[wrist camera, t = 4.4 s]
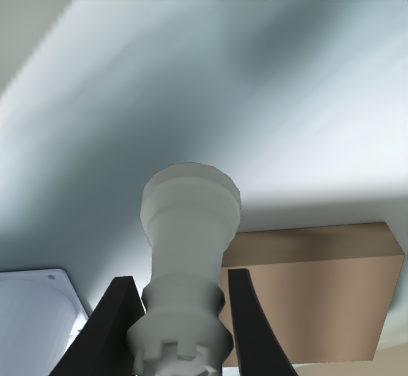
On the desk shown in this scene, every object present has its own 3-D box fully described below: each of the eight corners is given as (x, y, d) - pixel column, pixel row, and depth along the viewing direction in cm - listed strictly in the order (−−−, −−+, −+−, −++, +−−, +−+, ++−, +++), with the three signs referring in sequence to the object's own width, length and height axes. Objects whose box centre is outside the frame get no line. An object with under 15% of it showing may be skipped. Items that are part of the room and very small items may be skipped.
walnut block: (221, 333, 31) (222, 367, 29) (207, 235, 25) (207, 268, 22) (359, 326, 31) (372, 360, 28) (384, 222, 24) (405, 254, 21)
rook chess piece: (164, 140, 14) (124, 314, 8) (259, 179, 15) (289, 360, 9) (130, 213, 17) (79, 391, 10) (214, 243, 18) (214, 420, 12)
